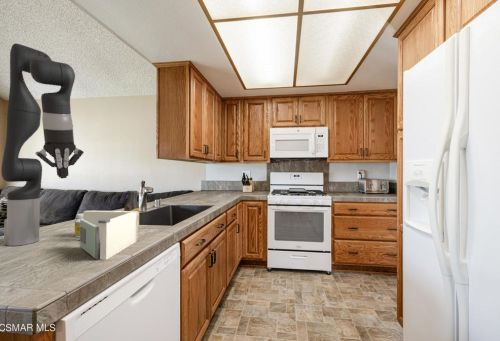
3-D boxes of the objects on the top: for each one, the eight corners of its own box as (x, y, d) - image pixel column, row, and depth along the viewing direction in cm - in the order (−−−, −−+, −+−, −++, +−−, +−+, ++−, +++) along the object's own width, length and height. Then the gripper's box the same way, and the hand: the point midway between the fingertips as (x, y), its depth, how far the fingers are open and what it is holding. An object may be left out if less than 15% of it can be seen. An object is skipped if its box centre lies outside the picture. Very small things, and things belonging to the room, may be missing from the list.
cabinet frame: (38, 259, 75) (38, 219, 75) (86, 239, 97) (86, 208, 97) (105, 260, 75) (105, 220, 75) (138, 240, 96) (138, 209, 96)
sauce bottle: (132, 237, 101) (133, 191, 101) (119, 236, 102) (120, 190, 102) (142, 233, 107) (142, 190, 107) (130, 232, 108) (130, 189, 108)
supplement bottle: (89, 233, 105) (90, 212, 105) (89, 236, 101) (89, 214, 101) (75, 235, 102) (75, 213, 102) (74, 238, 98) (74, 215, 98)
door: (79, 246, 86) (79, 219, 86) (83, 245, 87) (83, 219, 87) (94, 259, 75) (94, 227, 75) (99, 257, 76) (99, 227, 76)
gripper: (78, 125, 83) (81, 172, 88) (28, 125, 73) (34, 177, 77) (86, 129, 79) (89, 177, 83) (34, 128, 69) (40, 184, 73)
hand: (63, 177), depth 80 cm, fingers closed
